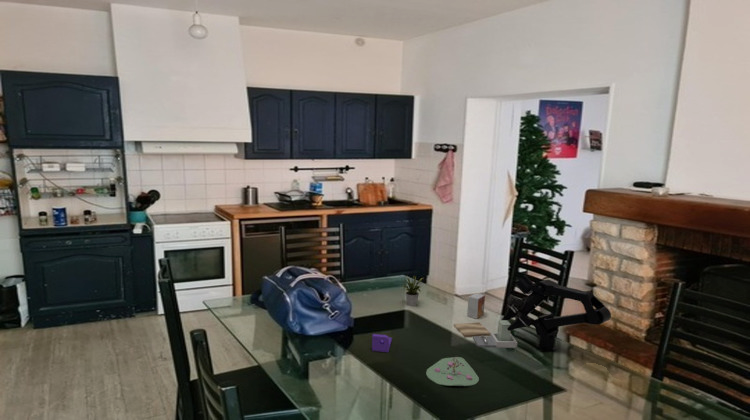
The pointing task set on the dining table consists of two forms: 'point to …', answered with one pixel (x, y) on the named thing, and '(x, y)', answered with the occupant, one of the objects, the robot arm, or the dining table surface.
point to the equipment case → (494, 341)
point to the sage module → (503, 330)
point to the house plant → (412, 292)
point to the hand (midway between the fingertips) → (504, 325)
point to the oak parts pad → (472, 329)
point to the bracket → (381, 343)
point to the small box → (476, 305)
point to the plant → (452, 372)
